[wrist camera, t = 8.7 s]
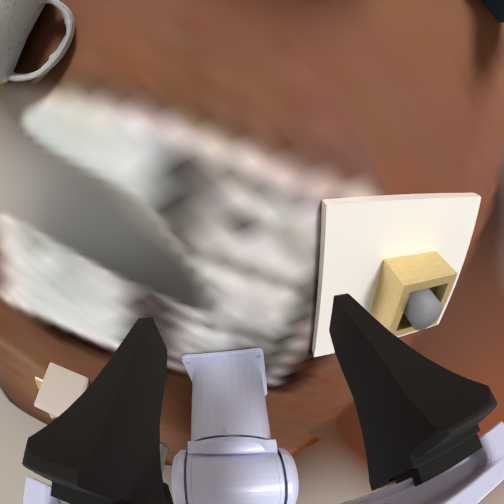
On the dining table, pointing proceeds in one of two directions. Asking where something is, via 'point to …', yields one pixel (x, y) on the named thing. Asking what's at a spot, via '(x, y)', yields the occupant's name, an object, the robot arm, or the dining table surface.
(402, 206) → the post stand
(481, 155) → the dining table surface
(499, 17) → the watch
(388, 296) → the wooden square ring
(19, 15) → the ceramic mug
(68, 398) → the architectural model
